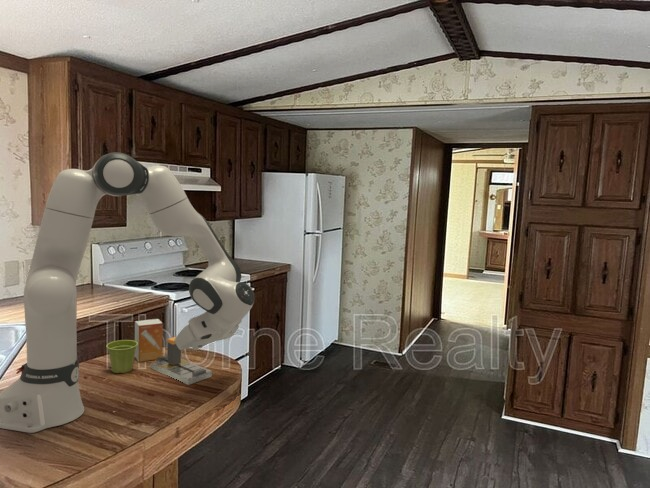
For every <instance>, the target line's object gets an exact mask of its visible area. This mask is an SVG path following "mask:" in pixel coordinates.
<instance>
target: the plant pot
mask: <svg viewBox="0 0 650 488" xmlns="http://www.w3.org/2000/svg"><path fill="white" fill-rule="evenodd" d="M137 345H138V343H137V342H136V341H135V340H132V339H120V340H114V341H110V342H109V343H107V344H106V349H107V351H108V354H109V360H110V366H111V372H112V373H115V374H119V373H121V374H125V373H129V372H131V371H132V370H133V366H134V359H135V350H136V346H137Z"/></svg>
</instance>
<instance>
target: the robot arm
mask: <svg viewBox="0 0 650 488" xmlns="http://www.w3.org/2000/svg"><path fill="white" fill-rule="evenodd" d="M128 195H129V196H130V195H131V196H132V195H136V196H137V197H138V198H139V199H140V200H141V201H142V203H143V204H144V207H145V208H146V210H147V213H148V214H149V217H150V219H151V221H152V223H153V225H154V226H155V227H156V228H157V229H158V231H159V232H160V233H162V234H164V235H165V236H166V235H167V236H169V237H188V238H190V239H192V240H193V241H195V243H196V244H197V245H198V247H199V249H200V250H201V252H202V253H203V255H204V257H205V258H206V260H207V262H208V265H207V267H206V268H205V269H204V270H203V271H201V272H199V273H198V274H197V275H196V276H195V277H194V278H193V279H192V280H191V281H190V283H189V286H188V292H189V296H190V298H191V300H192V301H193V302H194V303H195V305H197V306H198V307H199V308H201V309H202V310H204V311H205V312H204V313H202V314H199V315H197V316H194V317H191V318H190V319H189V320H188V324H187V325H186V326H185V325H184V327H182V329H181V330H180V331H179V332H178V334H177V335H176V336H175V337H176V338H175V343H176V345H177V347H178V348H179V350H181V351H182V350H186V349H190V348H191V349H192V351H195V350H196V351H197V350H199V349H203V347H204V346H206V345H208V344H210V343H211V344H212V343H216V342H218V341H222V340H223V341H224V340H226V339H230V338H231V337H233V336H234V335H235V334H236V332H237V331H238V329H239V325H240V324H241V323H242V322H243V321H242V320H243V319H244V318H245V317H246V316H247V315H248V313H249V312H250V311H251V309H252V308H253V305H254V304H255V293H254V290H253V289H252V287H251V286H250V285H249V284H247V283H246V282H243V281H241V280H242V271H241V269H240V265H239V264H238V263H237V262H236V261H235V260H234V259H233V258H232V256H231V255H229V253H228V252H227V250H226V248H225V247H224V246H223V244H222V242H221V240H220V239H219V238H218V235H217V234H216V233H215V231H214V229H213V228H212V226H211V225H210V223H209V221H208V220H206V217H204V216H203V215H202V213H199V212H198V211H197V210H196V209H195V208H194V207H193V205H192V204H191V201H190V199H189V198H188V196H187V194H186V191H185V190H184V188H183V187H182V185H181V184H180V182H179V180H178V179H177V178H176V176H175V175H174V174H173V171H171V170H170V168H168V167H167V166H165V165H159V164H158V165H157V164H156V165H152V166H149V167H146V166H144V165H143V164H142V163H140V162H139V161H138V160H136V159H135V158H133V157H132V156H131V155H129V154H126V153H122V152H118V151H116V152H114V151H113V152H110V153H106V154H104V155H102V156H101V157H100V158H99V159H97V161H96V162H95V163H94V165H93V166H92V167H91V168H90V169H89V170H84V169H79V168H68V169H63V170H61V171H60V172H59V173H58V174H57V176H56V178H55V179H54V181H53V184H52V186H51V189H50V191H49V194H48V197H47V199H46V203H45V207H44V210H43V213H42V218H41V221H40V227H39V229H38V234H37V238H36V242H35V245H34V250H33V254H32V259H31V263H30V266H29V271H28V275H27V278H26V282H25V285H24V289H23V305H24V306H23V307H24V322H25V323H24V324H25V325H24V326H25V334H26V335H25V337H26V338H25V340H26V342H25V343H26V362H25V363H24V364H22V365H21V367H19V368H17V369H15V371H16V373H15V374H16V375H17V374H20V373H21V374H20V377H19V378H18V379H16V380H14V382H13V383H11V384H10V385H8V386H7V387H6V388H5V389H3V390H2V391H1V392H0V429H4V430H10V431H17V432H23V433H28V434H33V433H37V432H41V431H43V430H45V429H49V428H53V427H57V426H61V425H65V424H67V423H70V422H73V421H75V420H77V419H78V418H79V417H81V416H82V415H83V414H84V412H85V407H84V404H83V400H82V397H81V393H80V387H79V386H80V385H79V378H80V362H79V361H80V360H79V358H78V354H77V351H78V349H77V348H78V346H77V323H78V322H77V317H78V316H77V315H78V314H77V313H78V310H77V309H78V303H77V302H78V298H77V297H78V296H77V295H78V294H77V293H78V291H77V289H78V288H77V278H78V275H79V272H80V268H81V264H82V261H83V258H84V255H85V251H86V250H87V246H88V242H89V239H90V235H91V234H90V233H91V230H92V226H93V222H94V218H95V213H96V209H97V206H98V204H99V202H100V200H101V199H102V197H103V196H113V197H123V196H128Z"/></svg>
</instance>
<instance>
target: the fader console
mask: <svg viewBox="0 0 650 488" xmlns="http://www.w3.org/2000/svg"><path fill="white" fill-rule="evenodd" d="M150 370H153V371H155V372H157V373H160V374H162V375H165V376H167V375H168V376H167V377H169V376H170V377H169V378H171V377H172V379H173V378H174V380H176V379H177V380H176V381H178V380H179V381H178V382H180V381H181V382H180V383H182V382H183V384H184V385H187V386H189V385H192V384H195V383H197V382H201V381H203V380H207V379H209V378H211V377H212V375H213V373H212V372H213V371H212V370H211V369H208V368H206V367H203V366H202V365H201V366H200V365H198V364H195V363H193V362H191V361H187V360H186V359H183V358H181V363H179V364H176V365H171V364H168V354H164V355H162V356H161V357H157V359H156V360H153V361H151V362H150Z"/></svg>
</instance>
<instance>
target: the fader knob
mask: <svg viewBox="0 0 650 488" xmlns="http://www.w3.org/2000/svg"><path fill="white" fill-rule="evenodd" d="M176 337H177V336H173V337H170V338H166V341H167V342H166V344H167V355H168V364H171V365H176V364H179V363H181V359H182V350H179V348H178V347H177V345H176V343H175V338H176Z"/></svg>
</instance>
